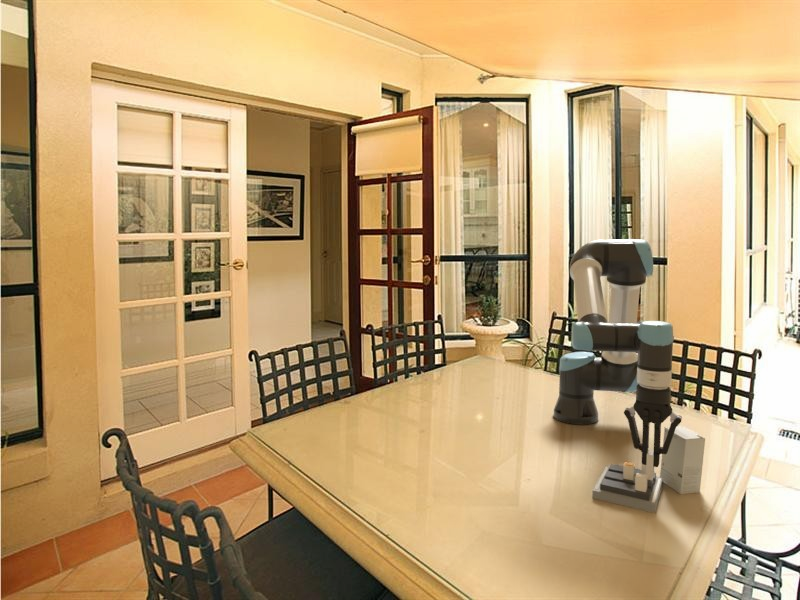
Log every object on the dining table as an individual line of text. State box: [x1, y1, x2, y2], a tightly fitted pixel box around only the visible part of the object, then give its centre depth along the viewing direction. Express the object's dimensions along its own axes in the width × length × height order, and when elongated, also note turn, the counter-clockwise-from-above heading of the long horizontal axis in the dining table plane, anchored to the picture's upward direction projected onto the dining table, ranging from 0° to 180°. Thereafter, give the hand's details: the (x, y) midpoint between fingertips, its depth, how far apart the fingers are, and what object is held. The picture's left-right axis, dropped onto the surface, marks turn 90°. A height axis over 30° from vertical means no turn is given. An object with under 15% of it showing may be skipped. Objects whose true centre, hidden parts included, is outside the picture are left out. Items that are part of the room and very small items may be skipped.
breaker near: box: [635, 473, 648, 492], centre depth 125 cm, size 2×2×4 cm
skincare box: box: [659, 425, 706, 495], centre depth 133 cm, size 8×6×15 cm
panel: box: [592, 463, 664, 514], centre depth 131 cm, size 14×16×4 cm
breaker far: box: [640, 461, 646, 475], centre depth 133 cm, size 2×2×4 cm
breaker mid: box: [622, 461, 636, 480], centre depth 131 cm, size 2×2×4 cm
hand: (649, 477), depth 129 cm, fingers closed
